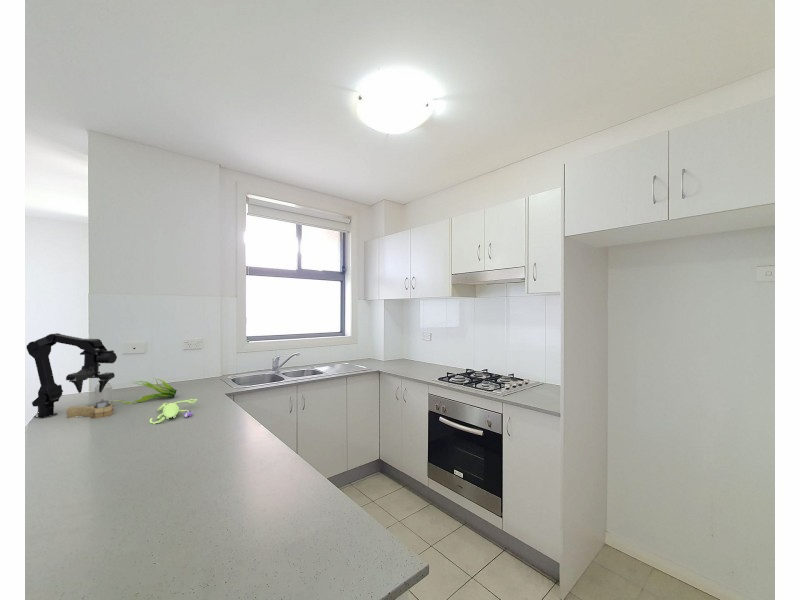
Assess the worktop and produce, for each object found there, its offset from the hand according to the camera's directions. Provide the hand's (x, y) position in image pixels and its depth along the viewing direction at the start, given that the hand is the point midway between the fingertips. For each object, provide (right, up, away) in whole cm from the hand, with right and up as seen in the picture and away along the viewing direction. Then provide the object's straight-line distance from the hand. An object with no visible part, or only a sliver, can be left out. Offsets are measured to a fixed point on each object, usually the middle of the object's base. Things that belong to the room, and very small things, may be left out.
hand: (90, 392), depth 171 cm
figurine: (+43, -13, +3) cm, 45 cm away
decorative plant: (+10, -12, +24) cm, 28 cm away
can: (-8, -12, +17) cm, 22 cm away
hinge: (+3, -12, +1) cm, 12 cm away
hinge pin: (+7, -12, -1) cm, 14 cm away
